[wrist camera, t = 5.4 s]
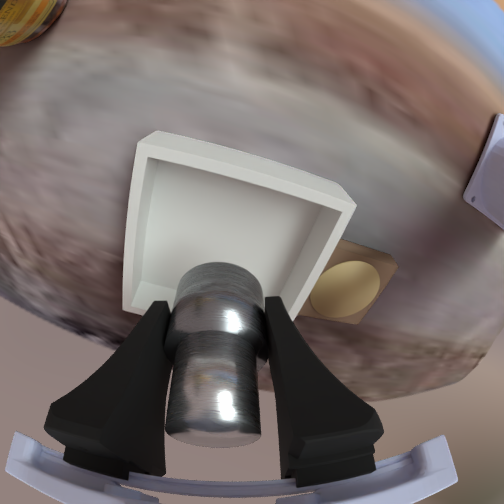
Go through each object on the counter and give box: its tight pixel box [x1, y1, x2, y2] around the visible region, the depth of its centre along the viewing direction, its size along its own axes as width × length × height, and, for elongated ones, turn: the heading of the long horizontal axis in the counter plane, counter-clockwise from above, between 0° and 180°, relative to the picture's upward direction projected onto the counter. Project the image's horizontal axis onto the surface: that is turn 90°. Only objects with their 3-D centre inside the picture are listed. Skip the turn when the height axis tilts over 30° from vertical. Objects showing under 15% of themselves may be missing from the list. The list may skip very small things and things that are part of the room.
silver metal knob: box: [164, 262, 269, 448], centre depth 11 cm, size 4×4×7 cm
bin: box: [123, 130, 357, 321], centre depth 17 cm, size 11×11×3 cm
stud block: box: [297, 239, 399, 325], centre depth 20 cm, size 6×6×2 cm
